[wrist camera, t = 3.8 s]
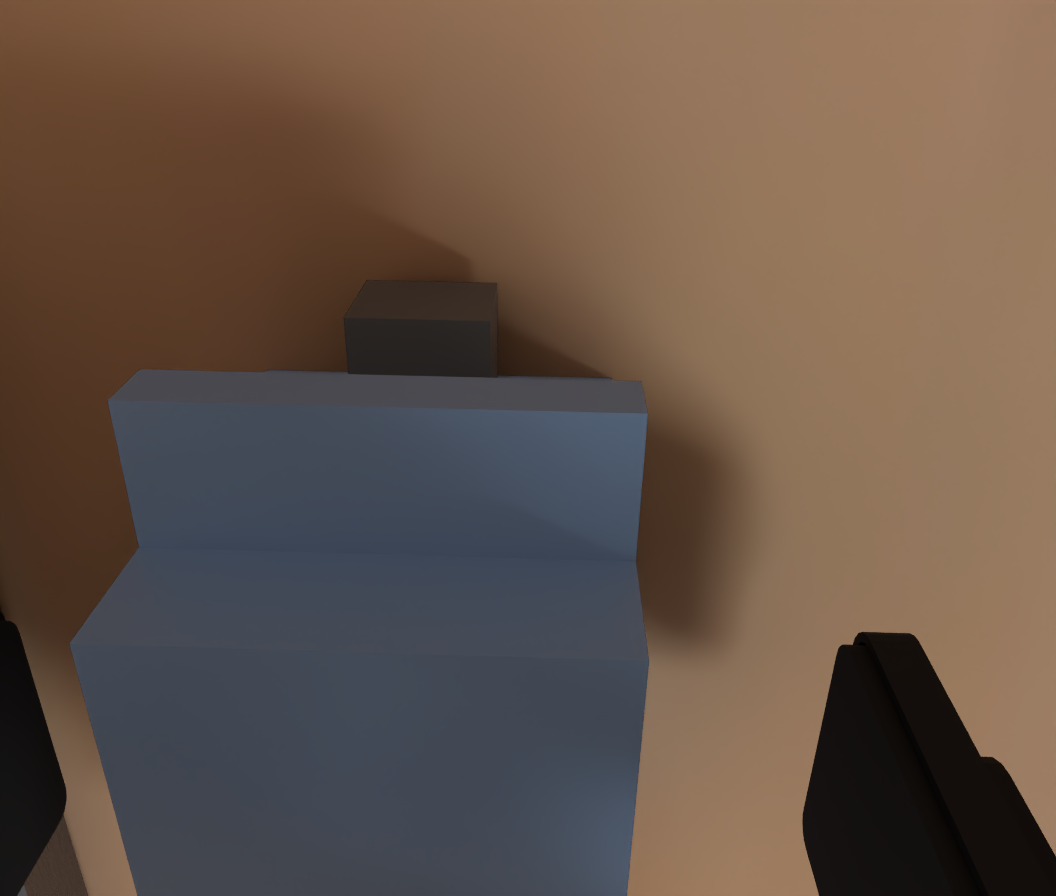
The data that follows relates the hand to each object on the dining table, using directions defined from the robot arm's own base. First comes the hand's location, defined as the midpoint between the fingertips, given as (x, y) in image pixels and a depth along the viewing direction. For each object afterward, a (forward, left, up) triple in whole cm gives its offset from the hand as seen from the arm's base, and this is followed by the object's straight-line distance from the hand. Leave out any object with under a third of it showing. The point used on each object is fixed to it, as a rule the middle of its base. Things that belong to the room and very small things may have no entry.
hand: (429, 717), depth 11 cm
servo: (0, 0, -2) cm, 2 cm away
